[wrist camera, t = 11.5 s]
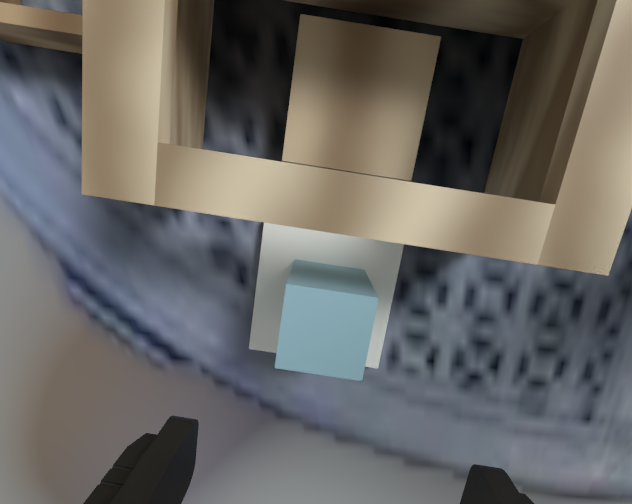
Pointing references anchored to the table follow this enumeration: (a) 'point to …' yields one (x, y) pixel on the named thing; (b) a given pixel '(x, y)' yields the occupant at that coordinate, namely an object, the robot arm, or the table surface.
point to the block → (326, 320)
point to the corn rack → (40, 27)
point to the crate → (376, 126)
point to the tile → (327, 249)
